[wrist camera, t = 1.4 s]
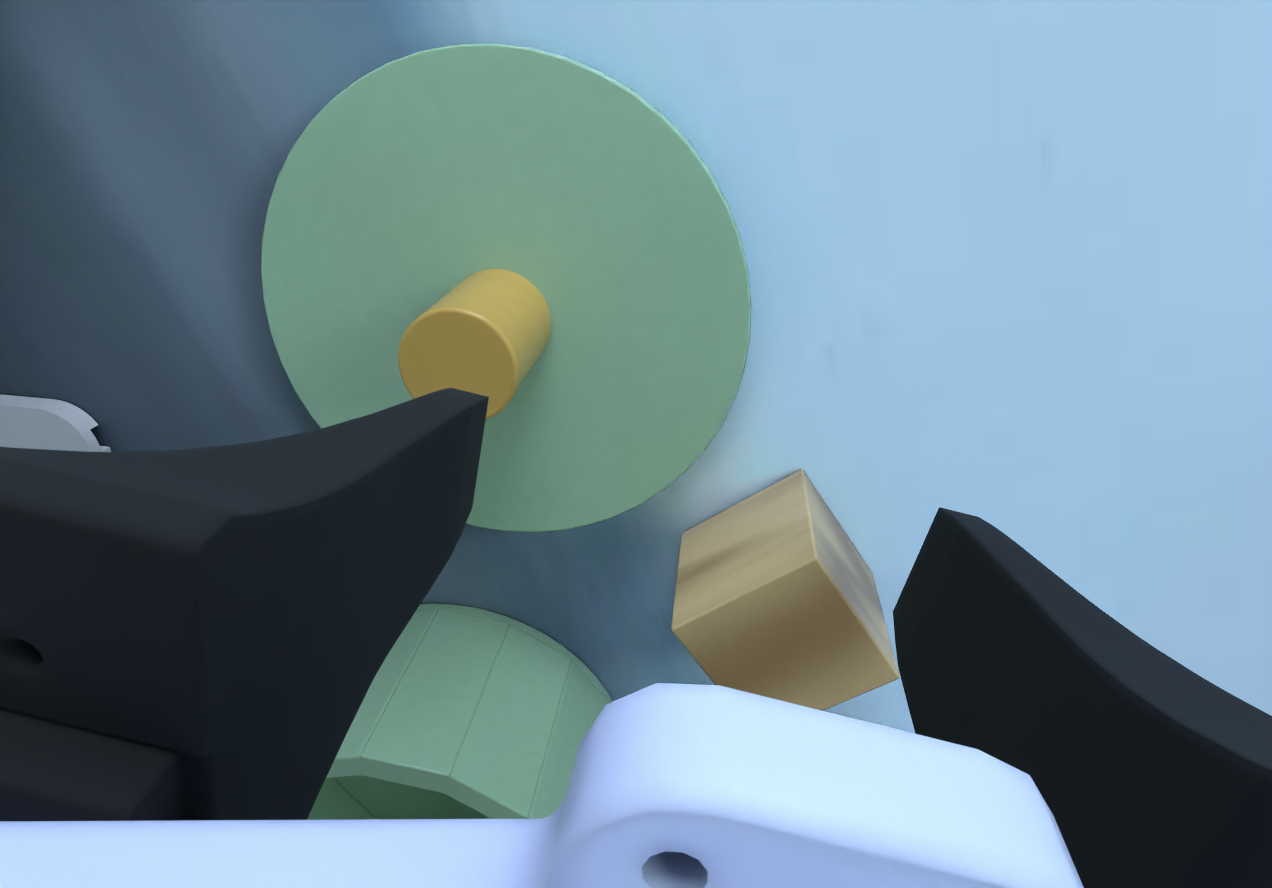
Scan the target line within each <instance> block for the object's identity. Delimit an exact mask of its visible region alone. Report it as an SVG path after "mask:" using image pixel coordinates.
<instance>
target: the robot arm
mask: <svg viewBox="0 0 1272 888" xmlns="http://www.w3.org/2000/svg"><path fill="white" fill-rule="evenodd" d="M488 400H489V397H487V396H483V395H479V394H475V393H471V392H467V391H463V390H459V389H455V388H447V389H442V390H439V391H435V392H432V393H429V394H426V395H423V396H421V397H418V398H415V399H412V400H409V401H407V402H404V403H401V404H398V405H395V406H392V407H389V408H387V409H384V410H381V411H378V412H375V413H372V414H369V415H366V416H362V417H359V418H356V419H352V420H349V421H345V422H342V423H339V424H335V425H332V426H328V427H325V428H322V429H318V430H314V431H310V432H306V433H301V434H297V435H292V436H287V437H281V438H276V439H271V440H265V441H260V442H253V443H246V444H237V445H227V446H218V447H208V448H198V449H189V450H172V451H149V452H84V451H65V450H46V449H28V448H11V447H0V888H1272V716H1270V715H1269V714H1267V713H1265V712H1263V711H1261V710H1259V709H1257V708H1256V707H1254V706H1252V705H1250V704H1248V703H1246V702H1244V701H1243V700H1241V699H1239V698H1237V697H1235V696H1233V695H1231V694H1230V693H1228V692H1226V691H1224V690H1223V689H1221V688H1219V687H1217V686H1216V685H1214V684H1212V683H1210V682H1209V681H1207V680H1205V679H1204V678H1202V677H1200V676H1199V675H1197V674H1195V673H1194V672H1192V671H1191V670H1189V669H1187V668H1186V667H1184V666H1183V665H1181V664H1180V663H1178V662H1176V661H1175V660H1173V659H1172V658H1170V657H1168V656H1167V655H1165V654H1164V653H1162V652H1160V651H1159V650H1157V649H1156V648H1154V647H1153V646H1151V645H1150V644H1148V643H1147V642H1145V641H1144V640H1142V639H1141V638H1139V637H1138V636H1137V635H1135V634H1134V633H1132V632H1131V631H1129V630H1128V629H1127V628H1125V627H1124V626H1123V625H1121V624H1120V623H1118V622H1117V621H1116V620H1114V619H1113V618H1112V617H1110V616H1109V615H1107V614H1106V613H1105V612H1103V611H1102V610H1101V609H1099V608H1098V607H1097V606H1095V605H1094V604H1093V603H1091V602H1090V601H1089V600H1087V599H1086V598H1085V597H1084V596H1082V595H1081V594H1080V593H1078V592H1077V591H1076V590H1074V589H1073V588H1072V587H1071V586H1069V585H1068V584H1067V583H1066V582H1064V581H1063V580H1062V579H1061V578H1059V577H1058V576H1057V575H1056V574H1054V573H1053V572H1052V571H1051V570H1049V569H1048V568H1047V567H1046V566H1044V565H1043V564H1042V563H1041V562H1039V561H1038V560H1037V559H1036V558H1034V557H1033V556H1032V555H1031V554H1029V553H1028V552H1027V551H1026V550H1024V549H1023V548H1022V547H1021V546H1019V545H1018V544H1017V543H1016V542H1014V541H1013V540H1012V539H1010V538H1009V537H1008V536H1006V535H1005V534H1004V533H1002V532H1001V531H1000V530H998V529H997V528H995V527H994V526H992V525H991V524H989V523H988V522H986V521H984V520H983V519H981V518H979V517H976V516H972V515H968V514H964V513H960V512H956V511H952V510H948V509H944V508H940V507H939V509H938V511H937V514H936V516H935V518H934V520H933V523H932V525H931V527H930V529H929V532H928V534H927V536H926V538H925V541H924V543H923V545H922V548H921V550H920V552H919V554H918V557H917V559H916V561H915V563H914V566H913V568H912V570H911V572H910V575H909V577H908V579H907V581H906V584H905V586H904V588H903V590H902V593H901V595H900V597H899V599H898V602H897V604H896V606H895V608H894V611H893V617H894V630H895V643H896V651H897V660H898V667H899V671H900V675H901V680H902V683H903V687H904V691H905V695H906V699H907V703H908V707H909V711H910V714H911V718H912V722H913V726H914V729H915V733H916V734H914V733H910V732H906V731H902V730H898V729H894V728H890V727H886V726H882V725H878V724H874V723H870V722H866V721H862V720H857V719H853V718H849V717H845V716H841V715H837V714H833V713H829V712H825V711H821V710H817V709H813V708H809V707H805V706H801V705H797V704H793V703H789V702H785V701H781V700H777V699H772V698H768V697H764V696H760V695H756V694H752V693H748V692H744V691H740V690H736V689H732V688H728V687H724V686H720V685H696V684H670V683H656V684H653V685H651V686H649V687H646V688H644V689H642V690H639V691H637V692H635V693H632V694H630V695H628V696H625V697H623V698H620V699H618V700H616V701H613V702H611V703H609V704H606V705H605V707H604V708H603V710H602V711H601V712H600V714H599V715H598V717H597V718H596V720H595V721H594V723H593V724H592V726H591V727H590V729H589V730H588V732H587V733H586V735H585V736H584V737H583V739H582V740H581V742H580V744H579V748H578V752H577V756H576V760H575V764H574V768H573V772H572V775H571V779H570V783H569V787H568V790H567V792H566V794H565V796H564V798H563V801H562V803H561V805H560V807H559V808H558V809H557V810H556V811H555V812H554V813H553V814H552V815H550V816H547V817H545V818H542V819H365V820H307V819H308V816H309V814H310V812H311V810H312V807H313V805H314V803H315V801H316V799H317V796H318V794H319V792H320V790H321V788H322V785H323V783H324V781H325V779H326V777H327V775H328V773H329V770H330V768H331V766H332V764H333V762H334V760H335V758H336V756H337V753H338V751H339V749H340V747H341V745H342V743H343V741H344V738H345V736H346V734H347V732H348V730H349V728H350V726H351V724H352V722H353V720H354V718H355V716H356V714H357V712H358V710H359V708H360V706H361V704H362V702H363V699H364V697H365V695H366V693H367V691H368V689H369V687H370V685H371V683H372V681H373V679H374V677H375V676H376V674H377V672H378V670H379V669H380V667H381V665H382V663H383V662H384V660H385V658H386V657H387V655H388V653H389V652H390V650H391V649H392V647H393V646H394V644H395V642H396V641H397V639H398V638H399V636H400V635H401V633H402V632H403V630H404V629H405V627H406V625H407V624H408V622H409V621H410V619H411V618H412V616H413V615H414V613H415V611H416V610H417V608H418V607H419V605H420V604H421V602H422V601H423V599H424V598H425V596H426V594H427V593H428V591H429V590H430V588H431V587H432V585H433V584H434V582H435V580H436V579H437V577H438V576H439V574H440V572H441V571H442V569H443V568H444V566H445V565H446V563H447V561H448V560H449V558H450V556H451V555H452V552H453V550H454V548H455V546H456V544H457V542H458V539H459V537H460V535H461V533H462V531H463V528H464V526H465V524H466V521H467V519H468V517H469V515H470V512H471V510H472V507H473V500H474V493H475V487H476V480H477V473H478V467H479V460H480V453H481V446H482V440H483V433H484V426H485V420H486V413H487V406H488Z"/></svg>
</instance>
